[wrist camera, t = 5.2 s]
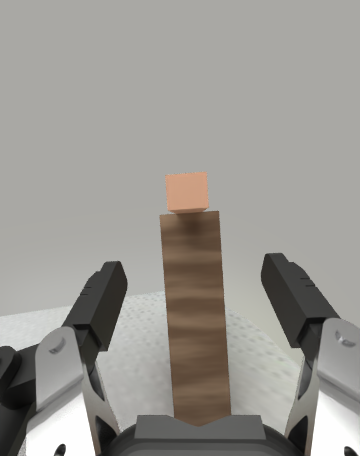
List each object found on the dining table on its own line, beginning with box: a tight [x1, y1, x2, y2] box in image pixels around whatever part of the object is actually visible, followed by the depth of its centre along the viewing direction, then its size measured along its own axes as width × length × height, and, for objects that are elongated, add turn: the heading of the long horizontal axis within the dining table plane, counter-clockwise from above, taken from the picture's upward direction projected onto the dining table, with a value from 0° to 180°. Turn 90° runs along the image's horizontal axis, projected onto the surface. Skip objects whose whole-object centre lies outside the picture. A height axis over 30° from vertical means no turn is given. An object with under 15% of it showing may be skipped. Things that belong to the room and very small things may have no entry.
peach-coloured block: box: [165, 172, 209, 214], centre depth 27 cm, size 24×4×3 cm, turn 177°
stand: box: [160, 211, 231, 427], centre depth 33 cm, size 16×8×32 cm, turn 177°
